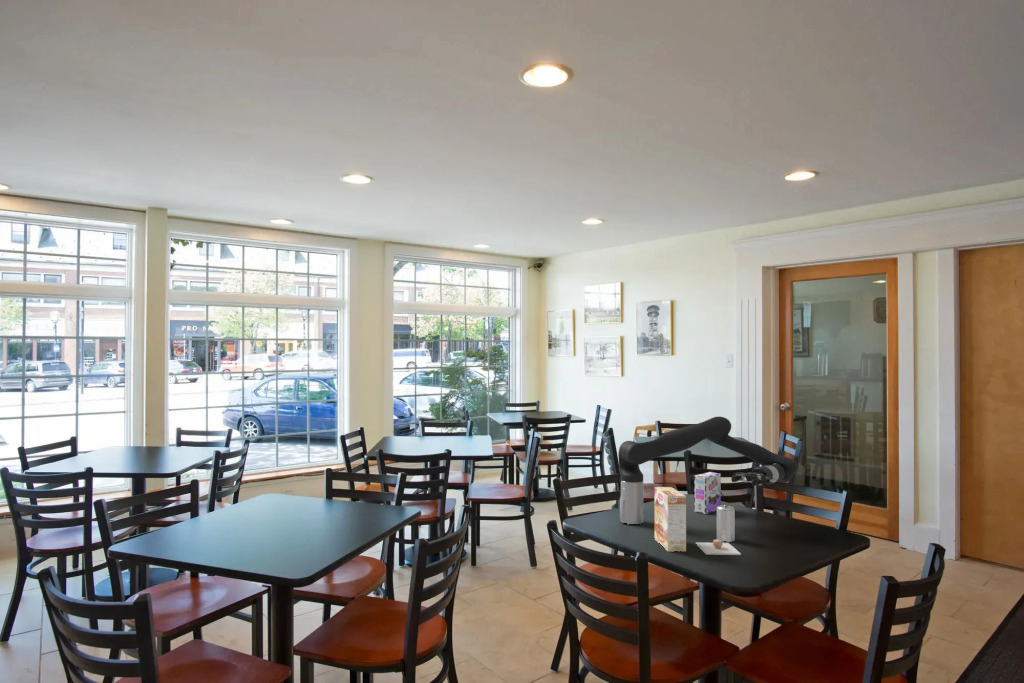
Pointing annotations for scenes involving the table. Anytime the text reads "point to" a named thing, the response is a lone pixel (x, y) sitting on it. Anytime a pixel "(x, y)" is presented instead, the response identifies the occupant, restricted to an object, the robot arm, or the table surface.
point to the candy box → (707, 492)
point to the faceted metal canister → (725, 523)
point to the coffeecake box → (670, 519)
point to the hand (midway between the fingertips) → (742, 481)
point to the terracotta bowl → (717, 543)
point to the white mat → (725, 549)
